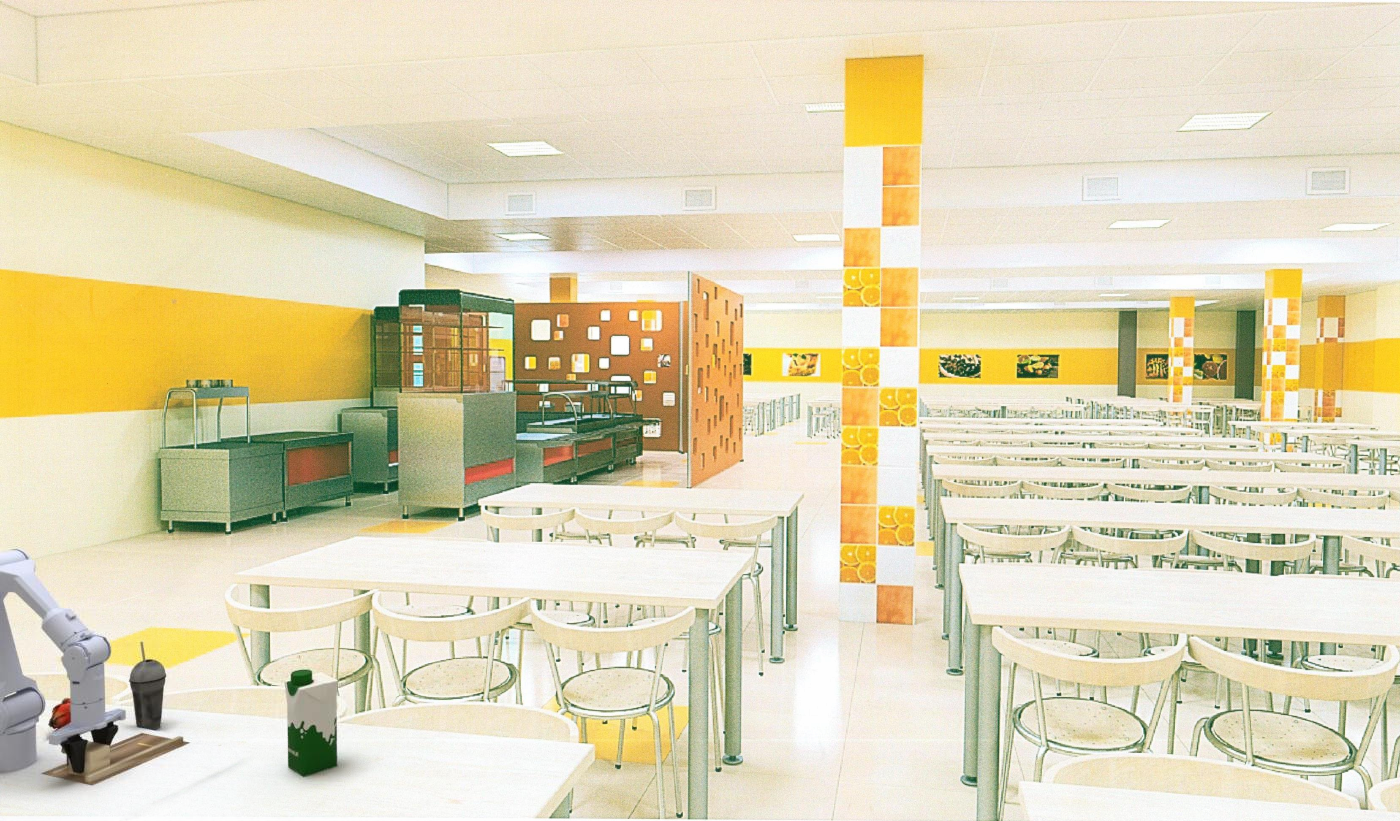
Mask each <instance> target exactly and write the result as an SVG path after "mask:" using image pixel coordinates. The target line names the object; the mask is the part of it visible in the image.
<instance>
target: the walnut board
mask: <svg viewBox="0 0 1400 821" xmlns="http://www.w3.org/2000/svg"><path fill="white" fill-rule="evenodd" d="M190 743H191V742H189V741H184V736H181V735H178V736H176V737H173V738H171V737H164V736H159V735H155V734H150V733H145V732H141V733H138V734H135V735H133V736H131V737H129V738H126V739H123V740H121V741H119V742H115V743H113V744H111V745H110V766H107V767H105V768H102V769H100V770H98V771H95V772H93V773H91V774H88V775H86V776H85V777H82V776H78V775H74V774H69V766H67V762H66V763H64V764H61V765H58V766H56V767H54V768H51V769H49V770H46V771H44V772H42V773H41V774H42V775H45V776H50V777H53V778H58V779H62V780H66V781H71V782H76V783H80V784H84V785H89V786H95V785H96V784H99V783H102V782H104V781H106V780H108V779H111V778H113V777H115V776H118V775H120V774H123V773H125V772H126V771H129V770H131V769H133V768H136V767H139V766H140V765H143V764H145V763H148V762H150V761H152V760H153V759H156V758H159V757H160V756H163V755H165V754H168V753H170V752H172V751H174V750H177V749H179V748H182V747H184V746H186V745H189V744H190Z"/></svg>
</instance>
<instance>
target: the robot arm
mask: <svg viewBox="0 0 1400 821" xmlns="http://www.w3.org/2000/svg"><path fill="white" fill-rule="evenodd" d="M35 572H36V562H35V561H34V560H33V559H32V558H31V556H30V555H29V553H28V552H27V551H26V550H24V549H21V548H12V549H10V550H7V551H2V552H0V773H10V772H15V771H16V772H17V771H21V770H24V769H27V768H29V767H31V766H33V765H35V764H36V763H37V761H38V756H37V754H38V752H37V723H39V721H40V716H42V715H43V713H44V712H45V709H46V699H45V697H44V694H43V693H42V692H41V690H40V689H39V687H38V683H37V681H36V680H35V679H34V678H32V677H31V678H30V677H28V676H25V675H24V673H23V670H22V666H21V662H20V659H19V656H18V655H19V654H18V651H17V647H16V644H15V640H14V636H13V631H12V629H11V624H10V622H9V620H10V619H9V618H8V617H9V616H8V613H7V609H6V605H5V603H4V600H5V599H6V597H7V596H8V594H9V593H15V594H16V595H17V596H18V598H20V599H21V600H22V601H23V602H24V603H25V604H26V605H27V606H28V607H29V608H30V609H31V610H33V611H34V613H35V614H37V615H38V617H40V618H41V619H42V623H41V630H42V631H43V632H44V633H45V634H46V636H47V637H48V638H49V639H50V640H51V641H52V642H53V644H54V645H56V647H57V648H58V649H59V650H60V652H62V654H63V656H61V657H60V660H61V663H62V666H63V667H64V669H65V671H66V677H67V678H68V681H69V690H70V691H69V692H70V694H69V695H70V700H71V702H70V703H71V723H69V724H68V725H66V726H64V727H62V728H61V729H59V730H57V731H55V730H54V732H50V733H48V744H49V745H52V746H58V745H60V747H61V749H62V748H63V749H64V751H65V752H66V754H67V756H68V758H69V760H70V763H71V766H72V769H73V772H76V773H83V772H84V767H85V750H86V746H87V743H88V741H89V740H88V739H85V738H83V736H81V735H83V734H86V733H88V732H89V733H90V735H91V739H92V742H95V743H100V744H105V745H109V746H111V745H112V742H113V740H114V738H115V736H116V735H117V733H118V732H119V725H118V724H114V723H116V722H118V721H124V720H126V719H127V716H126V715H127V714H126V713H127V712H126V709H125V708H124V709H123V708H116V709H113V710H109V711H106V686H105V682H106V681H105V675H106V674H105V663H106V662H107V661H108V660H109V659H110V658H111V655H112V646H111V643H110V641H109V640H108V638H107V637H106V636H105V635H103V634H101V633H96V632H95V631H91V630H90V629H89V628H87V626H86V625H85V624H84V623H83V622H82V620H81V619H80V618H79V617H78V615H77V613H76V612H75V611H72V609H71V608H65V607H60V606H59V604H58V602H56V600H55V599H54V597H53V596H52V595H51V594H50V591H48V589H47V588H46V586H45V585H44V584H43V582H42V580H40V578H39V577H38V574H36V573H35ZM66 754H65V755H66Z"/></svg>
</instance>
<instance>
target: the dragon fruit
mask: <svg viewBox="0 0 1400 821" xmlns="http://www.w3.org/2000/svg"><path fill="white" fill-rule="evenodd" d="M70 702H71V700H70V698H69V697H66V698H64V699H62V700H61V703H59V704H56V705H55V706H54V707H53V708H52V710H51V713H52V714H51V717H50V719H49V721H48V724H47V725H48V726H49V727H50V728H52V729H54V732H55V731H57V730H59V729H61V728H62V727H64V726H66V725H68V724H69V723H71V703H70Z"/></svg>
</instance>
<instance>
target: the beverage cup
mask: <svg viewBox="0 0 1400 821" xmlns="http://www.w3.org/2000/svg"><path fill="white" fill-rule="evenodd" d="M139 643H140V649H141V657H142V660H141V661H139V662H138V663H136V665H134V667H133V668H132V669H131V671H130V674H129V679H128V682H129V683H130V684H129V686H130V690H131V692H132V700H133V709H134V717H135V725H136V728H139V729H145V730H150V731H154V732H155V731H158V730H159V729H161V724H162V715H163V702H164V691H165V690H164V686H165V684H166V678H167V674H166V669H165V667H164V665H163V664H162V663H161V662H160V661H158V660H156V659H153V658H152V659H149V658H147V659H146V655H145V654H146V652H145V647H144V642H143V641H140V642H139Z"/></svg>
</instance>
